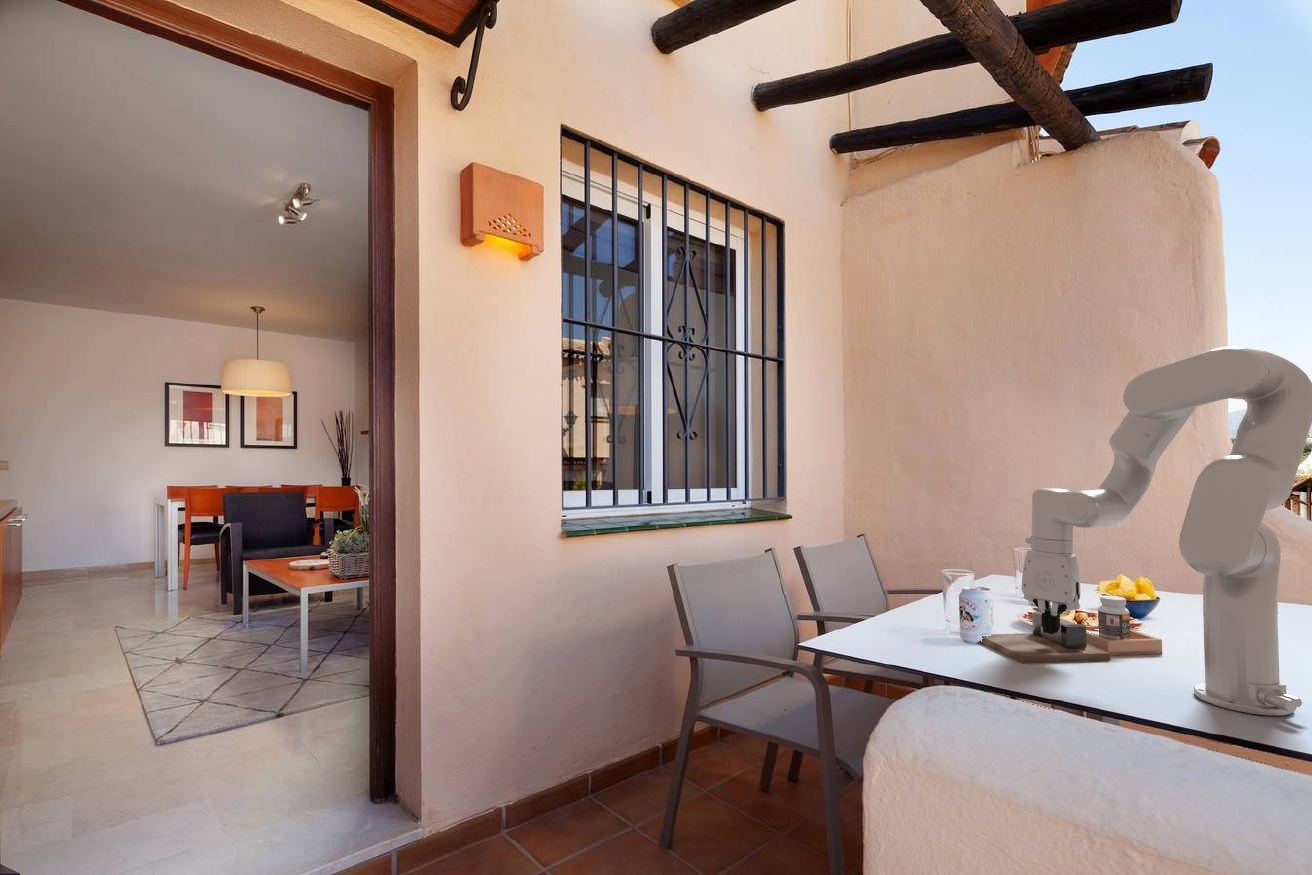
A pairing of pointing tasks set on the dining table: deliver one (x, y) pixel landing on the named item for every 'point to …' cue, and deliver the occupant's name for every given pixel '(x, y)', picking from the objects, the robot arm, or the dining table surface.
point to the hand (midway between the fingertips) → (1050, 632)
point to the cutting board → (1041, 649)
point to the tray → (1126, 643)
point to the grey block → (1062, 632)
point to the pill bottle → (1113, 618)
